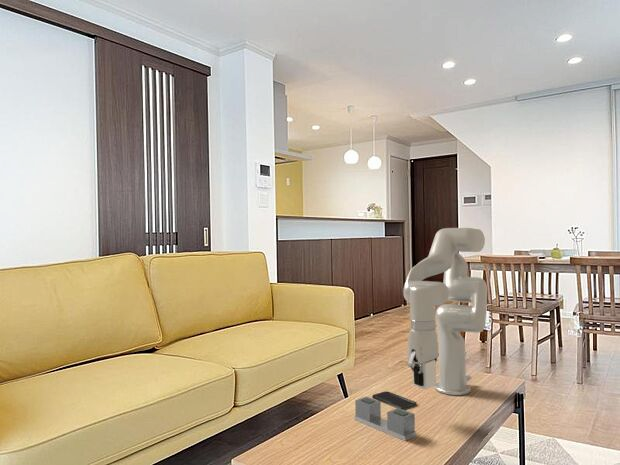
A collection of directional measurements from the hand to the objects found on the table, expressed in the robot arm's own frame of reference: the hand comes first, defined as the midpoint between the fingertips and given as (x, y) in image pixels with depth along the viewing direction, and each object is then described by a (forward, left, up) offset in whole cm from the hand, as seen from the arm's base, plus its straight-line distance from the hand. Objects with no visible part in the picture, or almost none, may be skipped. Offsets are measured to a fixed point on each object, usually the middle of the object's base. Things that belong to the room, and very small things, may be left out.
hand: (424, 381), depth 145 cm
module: (0, 0, -1) cm, 1 cm away
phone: (-5, -17, -12) cm, 21 cm away
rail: (+14, -5, -12) cm, 19 cm away
